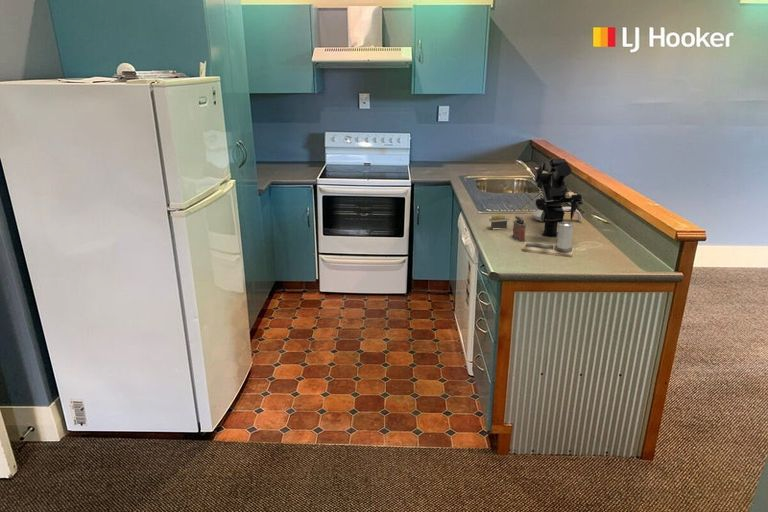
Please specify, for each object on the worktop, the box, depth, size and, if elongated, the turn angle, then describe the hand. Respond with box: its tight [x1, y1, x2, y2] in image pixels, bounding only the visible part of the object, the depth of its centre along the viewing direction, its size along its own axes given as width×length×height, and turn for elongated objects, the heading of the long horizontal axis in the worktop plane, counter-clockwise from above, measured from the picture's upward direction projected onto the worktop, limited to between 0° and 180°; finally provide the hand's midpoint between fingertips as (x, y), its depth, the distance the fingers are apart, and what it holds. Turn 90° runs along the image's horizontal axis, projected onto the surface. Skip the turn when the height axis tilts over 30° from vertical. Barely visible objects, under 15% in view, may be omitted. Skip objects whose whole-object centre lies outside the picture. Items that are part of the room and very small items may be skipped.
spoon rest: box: [531, 206, 583, 223], centre depth 268 cm, size 24×12×7 cm, turn 82°
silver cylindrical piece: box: [555, 221, 574, 249], centre depth 222 cm, size 6×6×10 cm
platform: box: [488, 214, 511, 230], centre depth 256 cm, size 12×18×7 cm, turn 104°
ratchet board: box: [520, 241, 575, 258], centre depth 226 cm, size 20×10×5 cm, turn 67°
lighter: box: [511, 215, 527, 243], centre depth 240 cm, size 8×3×10 cm, turn 17°
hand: (559, 220), depth 230 cm, fingers open, 9 cm apart
